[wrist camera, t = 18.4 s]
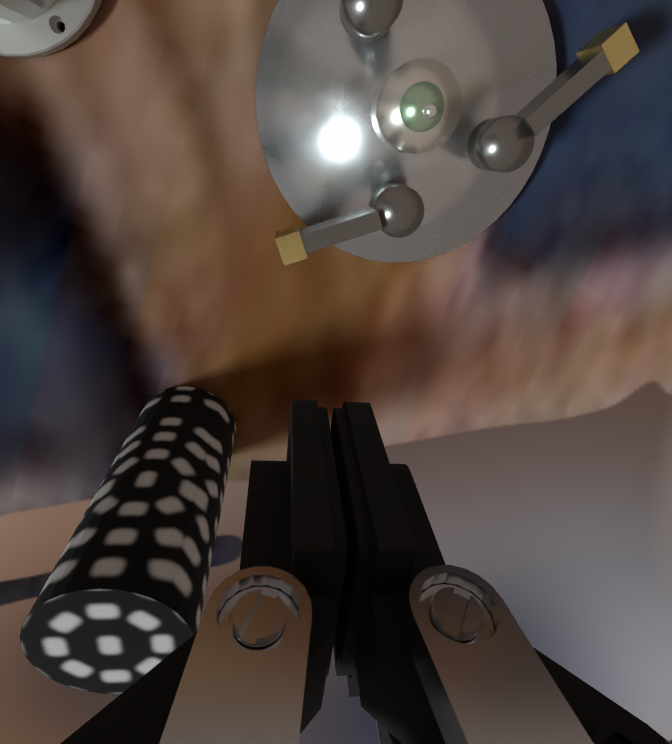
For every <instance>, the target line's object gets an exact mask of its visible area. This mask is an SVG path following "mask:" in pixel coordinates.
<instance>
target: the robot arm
mask: <svg viewBox="0 0 672 744" xmlns="http://www.w3.org/2000/svg"><path fill="white" fill-rule="evenodd" d="M101 2H102V0H0V56H3V57H12V58H21V59H27V58H36V57H44V56H47V55H50V54H52V53H55V52H58V51H60V50H63V49H64V48H65V47H67V46H68V45H70V44H71V43H73V42H74V41H76V40H77V39H78V38H79V37H80V36H81V35H82V33H83V32H84V31H85V30H86V29H87V28H88V27H89V25H90V24H91V22H92V21H93V19H94V17H95V15H96V13H97V11H98V9H99V7H100V5H101ZM62 23H64V24H65V30H64V32H62V31H61V30H60V25H61V24H62ZM333 647H334V657H335V668H336V673H337V675H338V676H341V675H347V678H348V688H349V696H350V697H351V696H360V701H361V706H362V707H363V708H364V709H365V710H366V711H367V712H368V713H369V714H370V715H371V716H372V717H373V718H374V719H375V720H377V728H378V736H379V740H380V744H672V740H671V741H668V740H666V739H664V738H663V737H662V736H661V735H659V734H658V733H657V732H656V731H655V730H653V729H652V728H651V727H650V726H648V725H647V724H646V723H644V722H643V721H641V720H640V719H638V718H637V717H635V716H634V715H632V714H631V713H629V712H628V711H627V710H625V709H623V708H622V707H621V706H619V705H618V704H616V703H615V702H613V701H612V700H610V699H609V698H607V697H606V696H604V695H603V694H601V693H600V692H598V691H597V690H596V689H594V688H593V687H591V686H590V685H588V684H587V683H585V682H584V681H582V680H581V679H579V678H578V677H576V676H575V675H573V674H572V673H570V672H569V671H567V670H566V669H564V668H563V667H562V666H560V665H558V664H557V663H556V662H554V661H553V660H551V659H550V658H548V657H547V656H545V655H544V654H542V653H541V652H539V651H538V650H536V649H535V648H533V647H532V645H531V644H530V642H529V640H528V639H527V638H526V636H525V634H524V632H523V631H522V629H521V628H520V626H519V625H518V623H517V621H516V620H515V618H514V617H513V615H512V614H511V612H510V610H509V609H508V607H507V606H506V604H505V602H504V601H503V599H502V598H501V597H500V596H499V594H498V593H497V592H496V591H495V589H494V588H493V587H492V586H491V585H490V584H489V583H488V582H486V581H485V580H484V579H483V578H481V577H480V576H479V575H476V574H475V573H473V572H471V571H469V570H467V569H464V568H460V567H456V566H452V565H445V562H444V560H443V557H442V554H441V552H440V549H439V546H438V544H437V541H436V538H435V536H434V533H433V530H432V528H431V525H430V522H429V520H428V517H427V515H426V512H425V509H424V506H423V504H422V501H421V499H420V496H419V493H418V490H417V488H416V485H415V483H414V480H413V477H412V474H411V472H410V470H409V468H408V466H407V465H405V464H390V463H389V461H388V457H387V454H386V451H385V448H384V445H383V442H382V438H381V435H380V432H379V429H378V426H377V423H376V420H375V417H374V413H373V410H372V407H371V405H370V403H362V402H344V403H343V406H342V408H334V410H333V415H332V423H331V431H330V425H329V419H328V412H327V408H321V407H318V404H317V401H314V400H291V406H290V420H289V434H288V447H287V461H255V460H252V461H251V468H250V477H249V487H248V496H247V506H246V516H245V525H244V534H243V544H242V553H241V563H240V571H237V572H236V573H234V574H232V575H230V576H229V577H227V578H226V579H224V580H223V581H222V582H221V583H220V584H219V586H217V587H216V588H215V590H214V591H213V593H212V595H211V597H210V599H209V601H208V602H207V605H206V607H205V611H204V613H203V616H202V619H201V622H200V625H199V628H198V631H197V632H196V633H195V634H194V635H193V636H191V637H190V638H189V639H188V640H187V641H185V642H184V643H183V644H182V645H180V646H179V647H178V648H177V649H176V650H174V651H173V652H172V653H171V654H169V655H168V656H167V657H166V658H165V659H163V660H162V661H161V662H160V663H158V664H157V665H156V666H155V667H154V668H152V669H151V670H150V671H149V672H147V673H146V674H145V675H144V676H143V677H141V678H140V679H139V680H138V681H136V682H135V683H134V684H133V685H132V686H130V687H129V688H128V689H127V690H125V691H124V692H123V693H122V694H121V695H119V696H118V697H117V698H116V699H114V700H113V701H112V702H111V703H110V704H108V705H107V706H106V707H105V708H103V709H102V710H101V711H100V712H99V713H97V714H96V715H95V716H94V717H92V718H91V719H90V720H89V721H88V722H86V723H85V724H84V725H83V726H81V727H80V728H79V729H78V730H77V731H75V732H74V733H73V734H72V735H71V736H69V737H68V738H67V739H66V740H64V741H63V742H62V743H61V744H299V735H300V734H301V732H302V731H303V730H304V729H305V727H306V726H307V725H308V724H309V722H310V721H311V720H312V719H313V717H314V716H315V715H316V714H317V712H318V711H319V710H320V709H321V705H322V698H323V692H324V686H325V680H326V676H328V673H329V668H330V661H331V655H332V649H333Z"/></svg>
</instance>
